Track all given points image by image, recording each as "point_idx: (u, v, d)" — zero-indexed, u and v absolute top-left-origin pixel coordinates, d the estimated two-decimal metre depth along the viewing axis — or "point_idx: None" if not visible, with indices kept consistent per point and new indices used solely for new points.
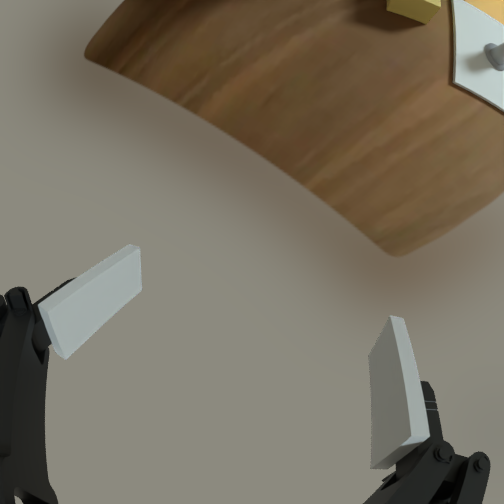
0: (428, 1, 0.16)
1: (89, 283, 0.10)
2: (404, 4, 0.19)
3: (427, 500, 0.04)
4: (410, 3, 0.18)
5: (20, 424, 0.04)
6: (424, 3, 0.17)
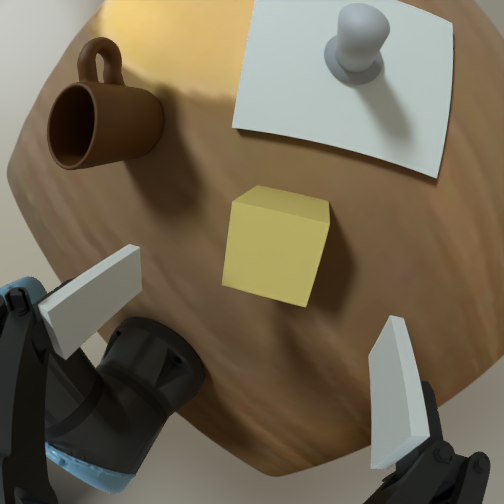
0: (321, 249, 0.17)
1: (89, 283, 0.10)
2: None
3: (427, 500, 0.04)
4: None
5: (20, 424, 0.04)
6: None
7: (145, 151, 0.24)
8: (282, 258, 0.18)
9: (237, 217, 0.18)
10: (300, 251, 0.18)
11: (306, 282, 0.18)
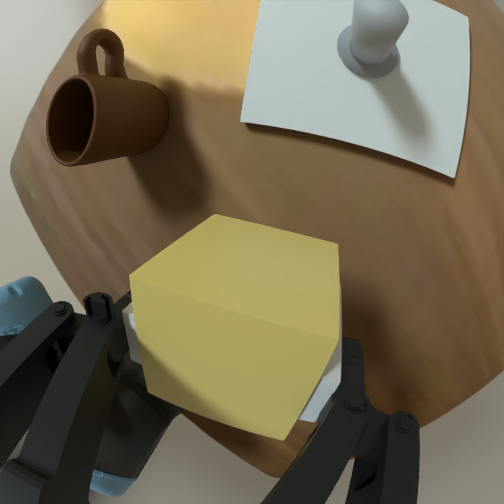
0: (315, 378, 0.08)
1: None
2: None
3: (351, 450, 0.06)
4: None
5: (73, 444, 0.04)
6: None
7: (149, 146, 0.23)
8: (237, 383, 0.08)
9: (143, 305, 0.08)
10: (271, 378, 0.08)
11: (284, 416, 0.09)
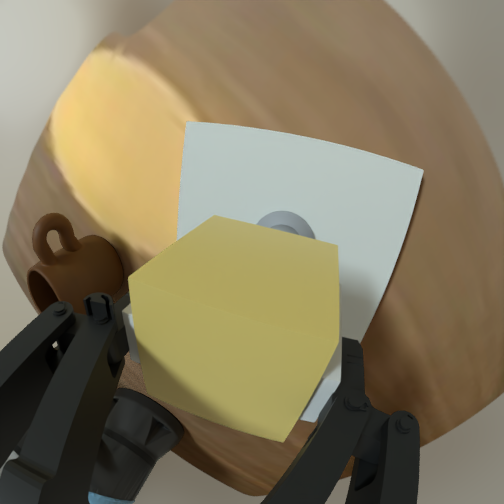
0: (314, 380, 0.07)
1: None
2: None
3: (351, 450, 0.06)
4: None
5: (73, 444, 0.04)
6: None
7: (113, 294, 0.28)
8: (236, 385, 0.08)
9: (142, 308, 0.08)
10: (271, 381, 0.08)
11: (284, 418, 0.09)
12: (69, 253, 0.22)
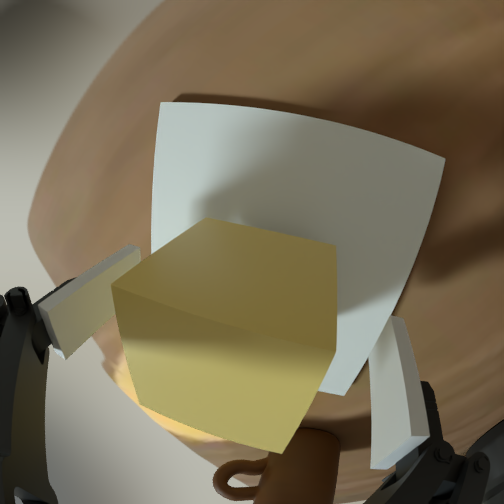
0: (311, 392, 0.07)
1: (89, 283, 0.10)
2: None
3: (427, 500, 0.04)
4: None
5: (19, 424, 0.04)
6: None
7: (338, 446, 0.21)
8: (228, 397, 0.08)
9: (127, 316, 0.08)
10: (264, 393, 0.07)
11: (281, 430, 0.08)
12: (263, 473, 0.20)
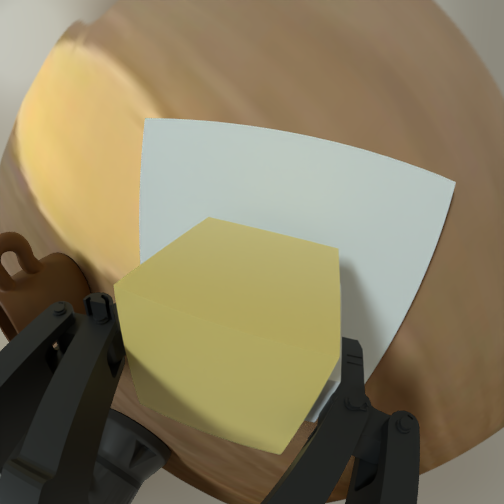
0: (239, 441, 0.09)
1: None
2: None
3: (351, 450, 0.06)
4: None
5: (73, 444, 0.04)
6: None
7: None
8: (211, 406, 0.08)
9: (295, 360, 0.06)
10: (229, 426, 0.09)
11: (180, 418, 0.09)
12: (28, 276, 0.17)
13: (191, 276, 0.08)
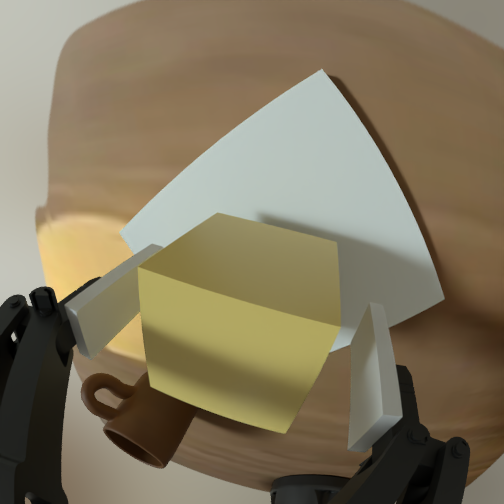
0: (246, 421, 0.10)
1: (116, 282, 0.11)
2: None
3: (405, 482, 0.04)
4: None
5: (37, 429, 0.04)
6: None
7: (196, 411, 0.26)
8: (222, 383, 0.09)
9: (301, 331, 0.07)
10: (238, 403, 0.10)
11: (190, 398, 0.10)
12: (127, 400, 0.22)
13: (207, 260, 0.09)
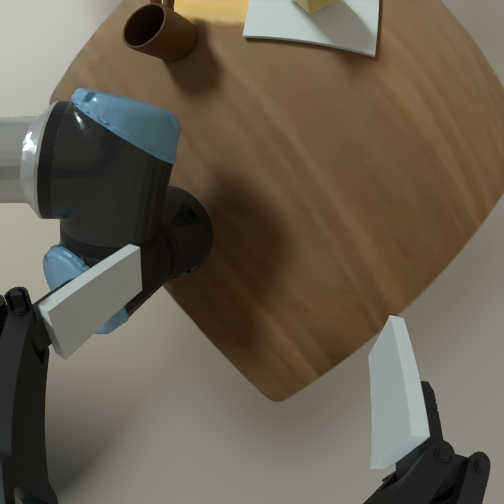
0: None
1: (89, 283, 0.10)
2: None
3: (427, 500, 0.04)
4: None
5: (19, 424, 0.04)
6: None
7: (184, 53, 0.31)
8: None
9: None
10: None
11: None
12: None
13: None
